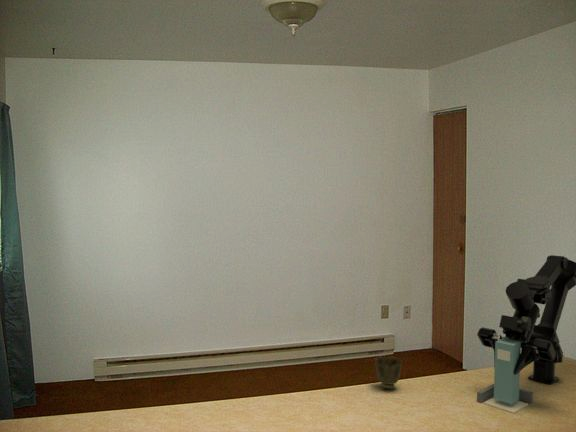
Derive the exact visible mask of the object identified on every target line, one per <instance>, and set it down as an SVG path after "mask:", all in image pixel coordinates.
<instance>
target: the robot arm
mask: <svg viewBox="0 0 576 432" xmlns="http://www.w3.org/2000/svg"><path fill="white" fill-rule="evenodd" d="M575 286H576V262H575V261H573V260H570V259H568V257H565V256H564V255H554V254H552V255H548V256H547V258H546V261H545V262H544V264H543V265H542V266H541V267H540V269H539V270H538V271H537V272H536V273H535V275H534V276H530V277H527V278H524V279H523V278H517V280H516V281H514V282H511V283H510V284H508V285H507V286H506V288H505V294H506V296H507V299H508V300H509V304H510V305H511V307H512V308H513V309H514V312H513V315H512V316H510V315H504V314H502V315H501V317H500V322H499V326H498V327H499V328H500V329H502V331H501V332H502V333H503V334H504V335H505V336H503V335H501V334H499V333H497V331H496V330H495V329H493V328H487V327H481V328H479V329H478V331H477V333H476V336H477V337H478V339H479V340H480V342H481V345H482V346H484V347H485V348H486V347H487V348H490V349H493V356H494V357H493V360H494V361H493V362H494V364H493V365H494V368H493V369H495V342H496V341H498V340H500V339H502V338H505V339H510V340H514V341H519V342H521V353H520V356H519V359H518V361H517V363H516V366H515V369H514V374H515V375H516V374H518V373H519V372H520V373H521V371H522V370H524V369H525V367H527V366H528V365H530V364H531V363H532V374H531V375H529V376H527V378H528V380H532V381H536V382H540V383H544V384H548V385H552V384H554V383H556V382H557V381H559V380H560V377H559V376H558V377H557V376H556V375H555V374H556V373H555V372H556V364H561V363H563V359H564V352H563V350H562V346H561V344H560V339H559V337H558V333H557V329H558V327H559V322H560V319H561V317H562V314H563V313H562V312H563V310H564V306H565V302H566V301H567V296H568V294H569V291H570V290H571V289H573V288H575ZM539 305H545V306H544V309H543V312H542V315H541V313H540V312H541V310H540V307H539ZM540 317H541V318H540ZM539 318H540V321H539V323H538V324H536V323H537V320H538V319H539Z"/></svg>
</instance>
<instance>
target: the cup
mask: <svg viewBox="0 0 576 432" xmlns="http://www.w3.org/2000/svg"><path fill="white" fill-rule="evenodd" d="M402 366H403V361H402V360H400V358H397V357H396V356H393V357H392V356H388V358H384V356H381V355H379V356H378V358H377V357H375V359H374V367H375V374H376V379H377V380H378V381H379V382H380V383H381V384H380V385H381V386H380V387H381V388H382V389H383V390H385V391H390V390H394V389H395V386H396V385H395V384H396V383H398V382H399V380H400V377H401V371H402Z"/></svg>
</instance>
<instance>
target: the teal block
mask: <svg viewBox="0 0 576 432" xmlns="http://www.w3.org/2000/svg"><path fill="white" fill-rule="evenodd" d="M521 349H522V348H521V342H519V341H514V340H510V339H505V338H502V339H500V340H498V341H496V342H495V368H494V371H493V372H494V375H493V376H494V378H493V382H494V383H493V384H494V396H493V397H494V399H496V400H499V401H503V402H506V403H509V404H512V403H514V402H515V401H517V400H518V401H519V389H520V381H521V379H520V377H521V375H520V374H521V371H520V372H519V373H518V374H516V375H515V374H514V369H515V366H516V363H517V361H518V359H519V356H520V354H521Z"/></svg>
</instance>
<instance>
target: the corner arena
mask: <svg viewBox="0 0 576 432" xmlns="http://www.w3.org/2000/svg"><path fill="white" fill-rule="evenodd" d="M476 402H478V403H481V404H482V403H483V404H484V405H487V406H490V407H493V408H496V409H498V410H499V409H500V410H502V411H505V412H508V413H512V414H516V413H517V412H519V411H521V410H522V409H524V408H526V407H527V406H529V403H530V404H532V403H534V392H533V391H530V390H526V389H523V388H522V389H521V388H519V399H518V400H517V401H515V402H514V403H512V404H509V403H506V402H503V401H499V400H496V399H494V383H492V384H490V385H488V386H486V387H484V388H483V389H481V390H479V391H477V392H476Z"/></svg>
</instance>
